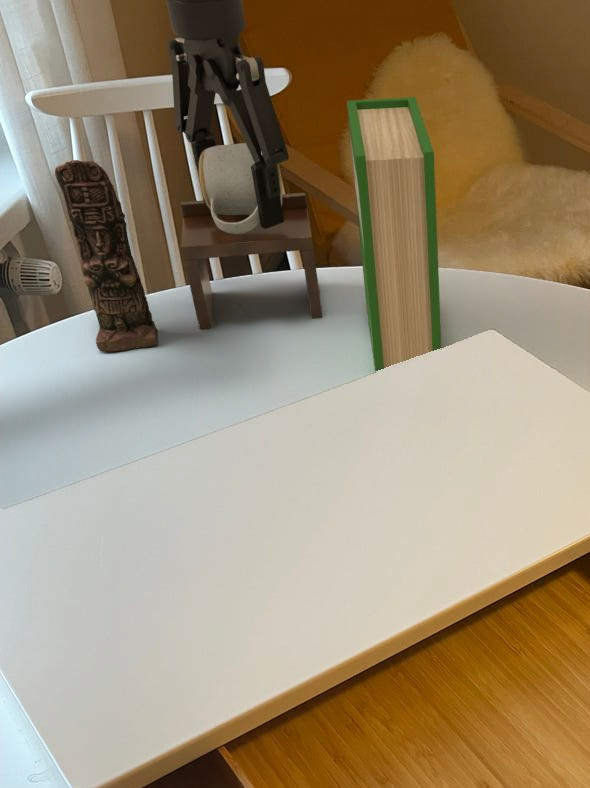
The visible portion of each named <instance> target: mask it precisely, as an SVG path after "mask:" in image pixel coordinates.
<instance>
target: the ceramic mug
mask: <svg viewBox="0 0 590 788" xmlns="http://www.w3.org/2000/svg"><path fill="white" fill-rule="evenodd" d="M261 155H262V152H261ZM253 164H255V162H254V160H253V158H252V156H251V153H250V151H249V149H248V147H247V145H246V143H245V142H240V143H233V144H232V143H231V144H219V145H216V146H214V147H210V148H208V149H205V150H204V151H203V152H202V153H201V156H200V159H199V177H198V180H199V179H200V181H199V186H200V185H201V186H200V190H201V189H202V191H201V194H202V193H203V196H202V198H203V197H204V199H205V202H206V204H207V206H208V207H209V209H210V210H211V213H212V217H213V219H214V221H215V224H216V225H217V227H218V228H219V229H221V230H222V231H224V232H227V233H231V234H242V233H246V232H248V231H250V230H252V229H254V228H255V227H256V226H257V225H258V224H259V223H260V217H259V211H258V206H257V200H256V194H255V188H254V182H253V177H252V171H251V166H252V165H253ZM279 165H280V164H279V163H278V164H277V171H278V178H279V184H280V185H279V186H280V191H281V192H280V200H281V206H282V194H283V185H282V176H281V170H280V166H279ZM217 214H221V215H250V216H249V217H248V218H246V219H245V220H243V221H241V222H237V223H228V222H224V221H222V220H220V219H219V218H218V217H217Z"/></svg>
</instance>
